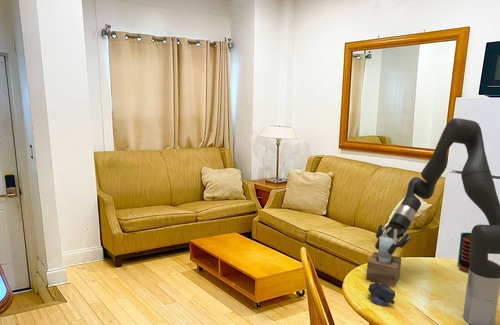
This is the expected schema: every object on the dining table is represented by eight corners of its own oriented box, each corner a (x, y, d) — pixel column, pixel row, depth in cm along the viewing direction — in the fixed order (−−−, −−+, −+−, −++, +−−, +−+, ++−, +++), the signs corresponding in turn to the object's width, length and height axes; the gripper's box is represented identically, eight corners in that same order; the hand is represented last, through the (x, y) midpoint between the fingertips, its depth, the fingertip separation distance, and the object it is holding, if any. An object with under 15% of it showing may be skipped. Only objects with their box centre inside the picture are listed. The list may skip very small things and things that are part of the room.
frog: (376, 291, 147) (378, 273, 146) (401, 304, 138) (403, 285, 137) (361, 297, 142) (362, 279, 141) (385, 310, 133) (387, 291, 132)
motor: (452, 267, 172) (457, 224, 168) (465, 264, 175) (471, 222, 172) (473, 276, 163) (479, 231, 159) (487, 273, 166) (493, 229, 163)
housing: (394, 287, 151) (396, 268, 149) (366, 280, 156) (367, 261, 155) (399, 275, 161) (401, 257, 160) (372, 269, 166) (374, 251, 165)
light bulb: (389, 275, 154) (392, 242, 152) (375, 271, 157) (378, 239, 155) (391, 270, 159) (394, 238, 157) (378, 267, 162) (381, 235, 159)
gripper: (384, 208, 164) (364, 240, 159) (415, 217, 153) (395, 251, 148) (390, 218, 168) (371, 250, 163) (421, 227, 157) (402, 261, 152)
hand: (383, 250), depth 156 cm, fingers closed on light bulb, 5 cm apart
